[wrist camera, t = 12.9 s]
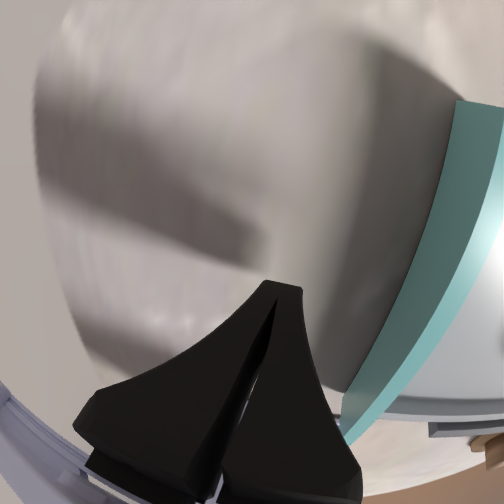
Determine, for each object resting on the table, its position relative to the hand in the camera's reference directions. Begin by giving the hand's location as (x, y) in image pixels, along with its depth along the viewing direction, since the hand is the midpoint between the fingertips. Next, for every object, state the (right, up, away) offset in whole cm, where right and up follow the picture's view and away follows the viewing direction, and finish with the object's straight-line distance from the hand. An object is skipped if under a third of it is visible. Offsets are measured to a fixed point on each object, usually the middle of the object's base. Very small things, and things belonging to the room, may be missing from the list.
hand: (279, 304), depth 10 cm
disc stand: (+22, -15, +5) cm, 27 cm away
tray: (+12, -1, -1) cm, 12 cm away
